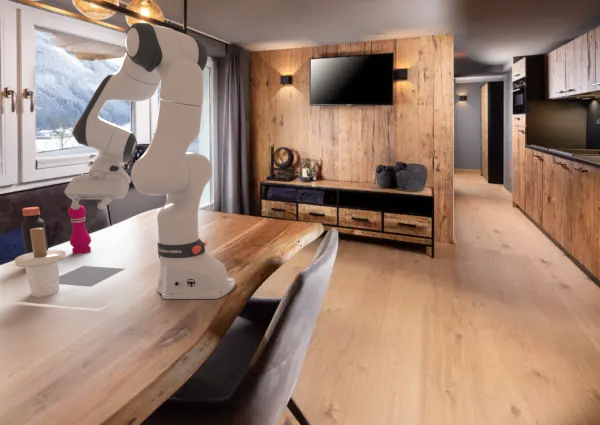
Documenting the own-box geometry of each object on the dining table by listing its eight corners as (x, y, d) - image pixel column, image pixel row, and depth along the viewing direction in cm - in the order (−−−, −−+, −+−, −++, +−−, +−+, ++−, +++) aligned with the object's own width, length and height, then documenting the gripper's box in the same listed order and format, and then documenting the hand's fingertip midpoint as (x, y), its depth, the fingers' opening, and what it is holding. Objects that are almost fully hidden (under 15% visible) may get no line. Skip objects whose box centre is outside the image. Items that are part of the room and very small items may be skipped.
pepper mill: (95, 251, 157) (89, 200, 153) (75, 256, 152) (68, 203, 148) (88, 248, 162) (82, 198, 158) (68, 252, 156) (61, 200, 152)
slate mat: (125, 270, 135) (125, 268, 135) (91, 288, 120) (91, 286, 119) (83, 267, 138) (83, 265, 138) (45, 284, 123) (44, 282, 123)
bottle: (36, 261, 146) (28, 206, 142) (54, 261, 145) (47, 206, 141) (22, 267, 139) (13, 209, 135) (40, 267, 138) (32, 210, 135)
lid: (75, 255, 118) (71, 224, 117) (42, 268, 107) (37, 235, 105) (40, 252, 121) (36, 223, 119) (4, 265, 109) (-2, 233, 108)
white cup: (51, 299, 112) (46, 264, 110) (22, 299, 112) (17, 264, 110) (67, 288, 120) (63, 255, 118) (41, 288, 120) (36, 255, 118)
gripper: (71, 168, 135) (52, 202, 127) (126, 167, 130) (110, 202, 123) (82, 180, 140) (64, 213, 132) (136, 179, 136) (121, 214, 128)
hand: (87, 208), depth 127 cm, fingers open, 8 cm apart
